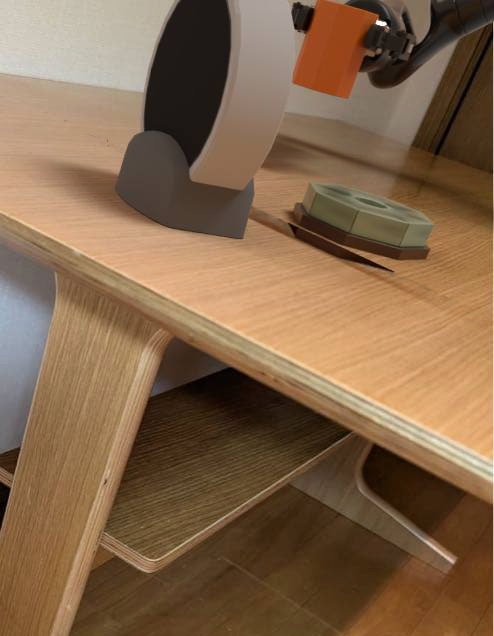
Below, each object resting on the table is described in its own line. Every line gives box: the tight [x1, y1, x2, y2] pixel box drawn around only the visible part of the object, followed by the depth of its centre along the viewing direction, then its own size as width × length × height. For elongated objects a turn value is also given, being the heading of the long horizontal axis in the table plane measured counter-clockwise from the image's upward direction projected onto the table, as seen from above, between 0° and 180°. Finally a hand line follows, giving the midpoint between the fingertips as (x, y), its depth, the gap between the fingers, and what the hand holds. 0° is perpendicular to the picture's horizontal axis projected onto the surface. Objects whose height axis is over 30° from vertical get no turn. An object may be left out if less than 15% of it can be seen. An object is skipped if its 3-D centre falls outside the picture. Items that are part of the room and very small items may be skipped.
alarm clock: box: [115, 0, 296, 240], centre depth 66 cm, size 16×10×18 cm, turn 18°
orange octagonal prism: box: [292, 0, 379, 100], centre depth 89 cm, size 6×6×8 cm
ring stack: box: [288, 181, 435, 273], centre depth 75 cm, size 12×12×4 cm
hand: (335, 26), depth 86 cm, fingers closed on orange octagonal prism, 7 cm apart
